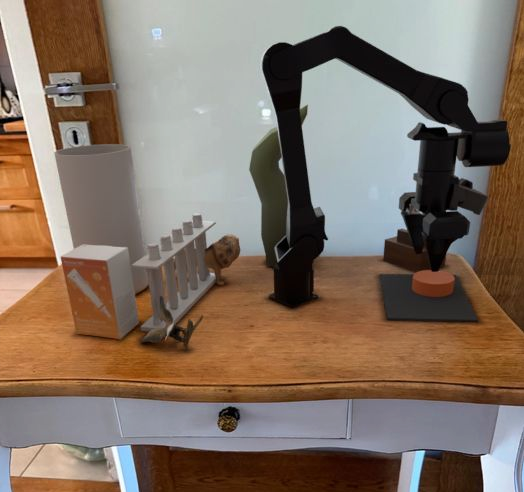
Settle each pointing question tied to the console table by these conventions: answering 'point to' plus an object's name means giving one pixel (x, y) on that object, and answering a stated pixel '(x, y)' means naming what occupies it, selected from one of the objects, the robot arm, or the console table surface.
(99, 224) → the cylinder vase
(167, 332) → the eagle figurine
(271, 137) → the tentacle
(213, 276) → the test tube rack
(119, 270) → the small box
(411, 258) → the brown notched block
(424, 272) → the disc
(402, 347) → the console table surface
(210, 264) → the lion figurine
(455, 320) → the mat
